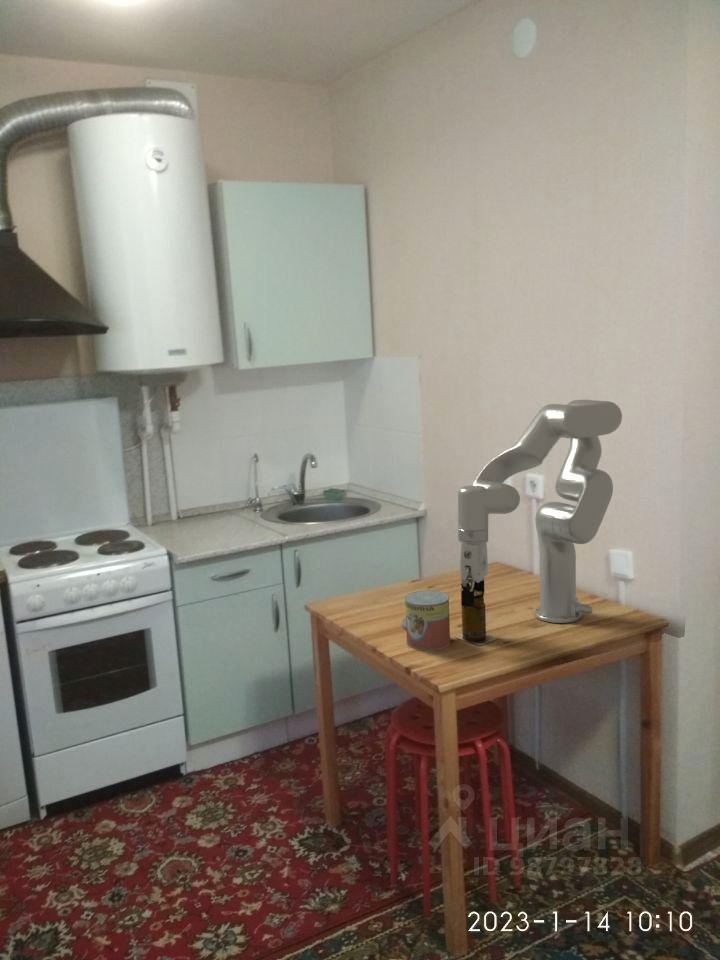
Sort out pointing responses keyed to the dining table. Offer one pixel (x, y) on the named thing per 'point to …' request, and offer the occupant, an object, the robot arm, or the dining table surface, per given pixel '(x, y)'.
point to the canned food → (427, 620)
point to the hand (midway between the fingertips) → (473, 600)
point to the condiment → (475, 622)
